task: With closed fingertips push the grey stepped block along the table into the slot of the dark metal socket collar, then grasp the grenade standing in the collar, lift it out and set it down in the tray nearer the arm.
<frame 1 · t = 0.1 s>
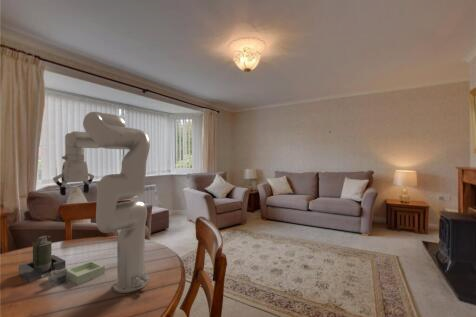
hand: (75, 193, 111), 31 cm above the table, fingers open, 9 cm apart
grey stepped block: (56, 274, 89), point 2 cm above the table, slide at 0.0 cm
socket: (42, 272, 97), on the table
grenade: (42, 272, 97), resting in socket
tray: (85, 275, 94), on the table
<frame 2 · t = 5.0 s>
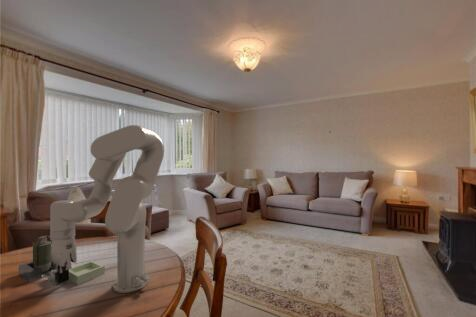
hand: (62, 281, 86), 1 cm above the table, fingers closed
grey stepped block: (56, 274, 90), point 2 cm above the table, slide at 0.7 cm, touching gripper
everything else where it was.
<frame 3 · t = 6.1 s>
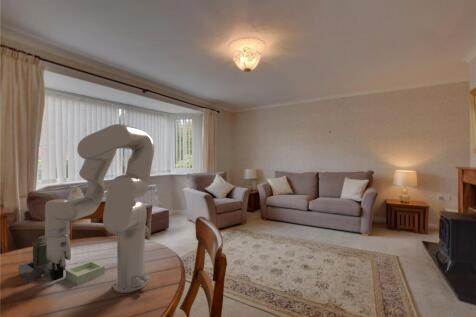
hand: (57, 278, 89), 1 cm above the table, fingers closed
grey stepped block: (50, 271, 92), point 3 cm above the table, slide at 5.5 cm, touching gripper
everything else where it was.
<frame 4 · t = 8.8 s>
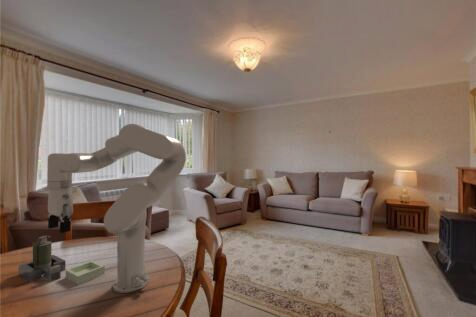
hand: (59, 229, 88), 21 cm above the table, fingers open, 9 cm apart
grey stepped block: (50, 271, 92), point 2 cm above the table, slide at 5.5 cm
everything else where it was.
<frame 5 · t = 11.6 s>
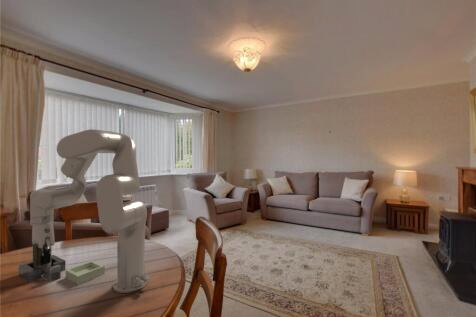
hand: (42, 261, 97), 4 cm above the table, fingers closed on grenade, 5 cm apart
grenade: (42, 272, 97), resting in socket, touching gripper
everything else where it was.
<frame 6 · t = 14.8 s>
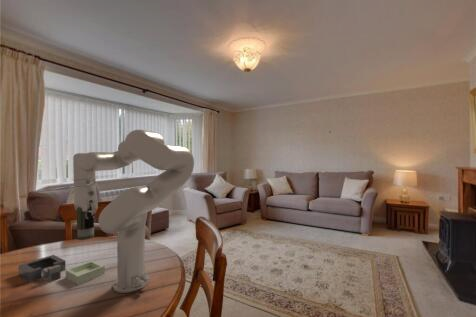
hand: (85, 226, 94), 20 cm above the table, fingers closed on grenade, 5 cm apart
grenade: (85, 238, 94), point 15 cm above the table, touching gripper
everything else where it was.
when the fingers open (7 cm above the table, at t = 17.8 s): grenade drops 1 cm, resting on tray.
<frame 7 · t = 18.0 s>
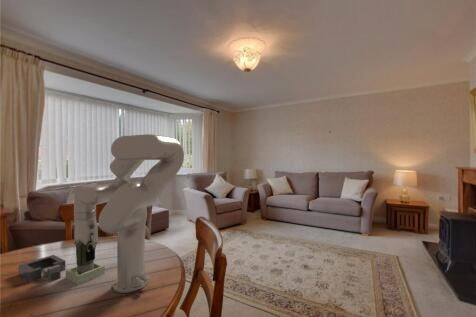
hand: (85, 258, 94), 7 cm above the table, fingers open, 7 cm apart
grenade: (85, 273, 94), point 1 cm above the table, touching tray
everything else where it was.
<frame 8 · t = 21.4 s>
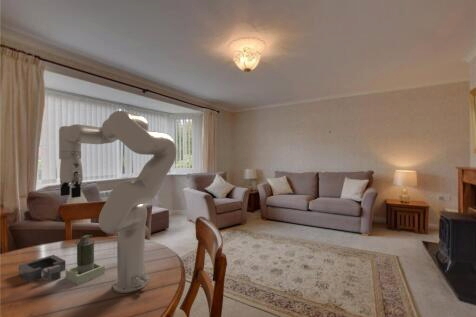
hand: (70, 196, 96), 32 cm above the table, fingers open, 9 cm apart
nothing on the table moved.
at the end: grey stepped block slide at 5.5 cm; grenade 0.1 cm from the tray (horizontally); the gripper is holding nothing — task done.
